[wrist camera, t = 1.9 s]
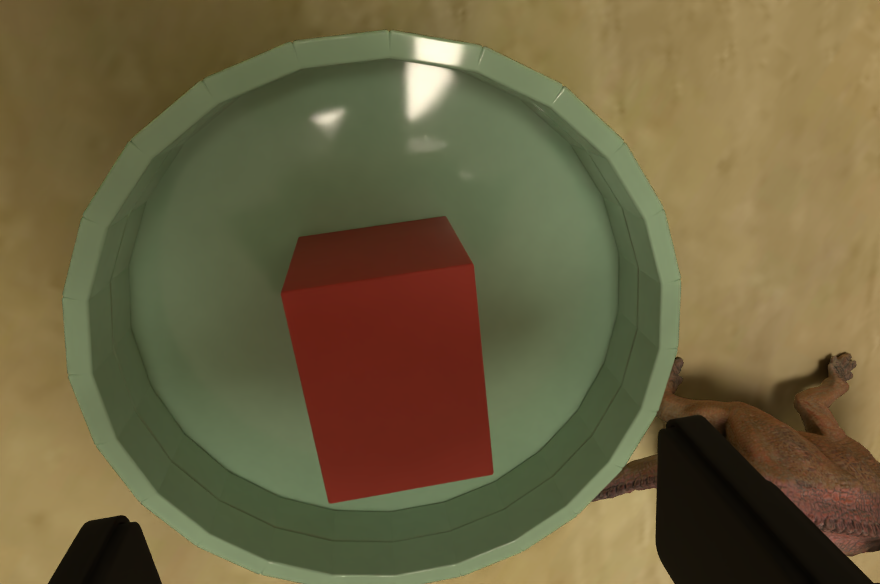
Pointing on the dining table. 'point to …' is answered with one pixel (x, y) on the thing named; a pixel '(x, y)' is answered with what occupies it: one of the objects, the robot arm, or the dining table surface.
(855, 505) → the dinosaur figurine
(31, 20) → the dining table surface
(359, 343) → the block
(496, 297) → the bowl
